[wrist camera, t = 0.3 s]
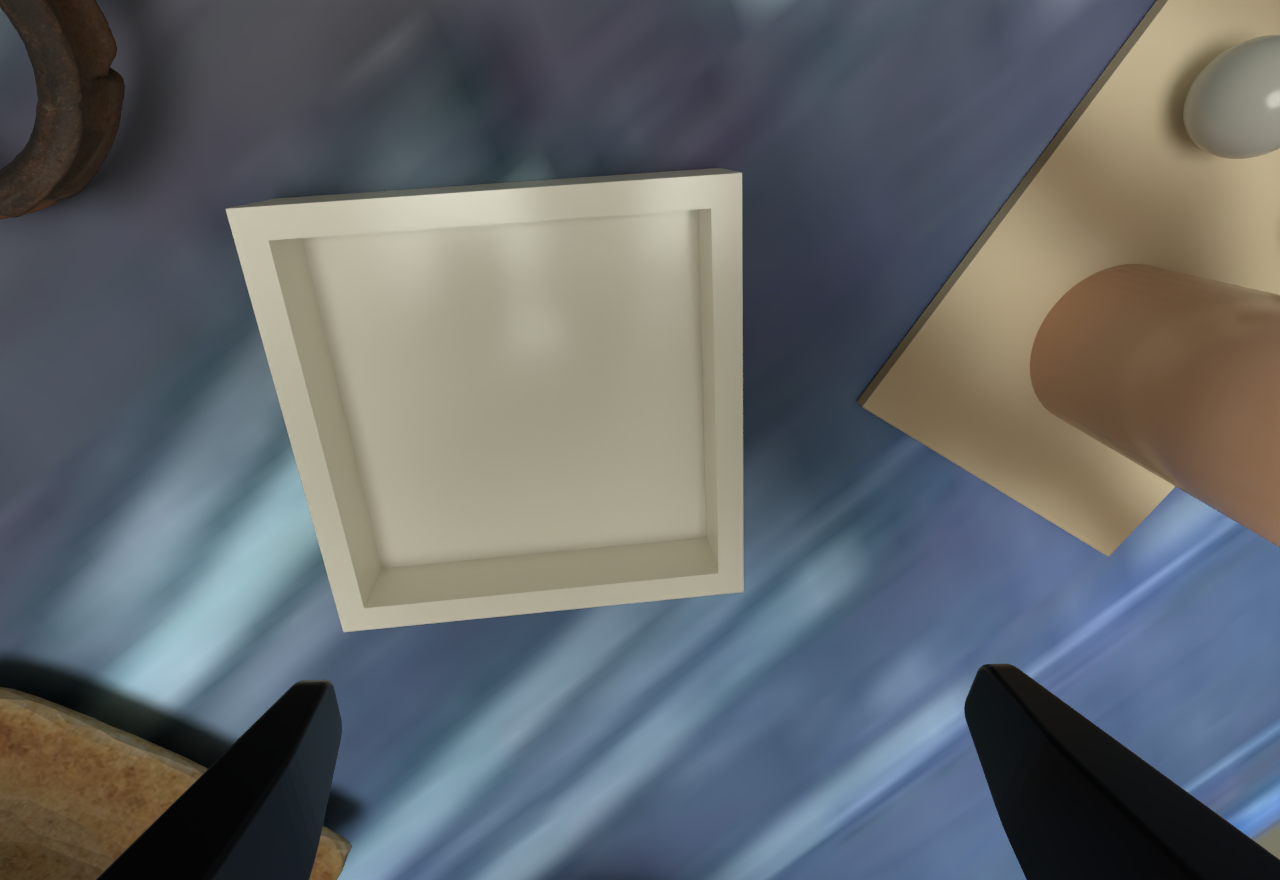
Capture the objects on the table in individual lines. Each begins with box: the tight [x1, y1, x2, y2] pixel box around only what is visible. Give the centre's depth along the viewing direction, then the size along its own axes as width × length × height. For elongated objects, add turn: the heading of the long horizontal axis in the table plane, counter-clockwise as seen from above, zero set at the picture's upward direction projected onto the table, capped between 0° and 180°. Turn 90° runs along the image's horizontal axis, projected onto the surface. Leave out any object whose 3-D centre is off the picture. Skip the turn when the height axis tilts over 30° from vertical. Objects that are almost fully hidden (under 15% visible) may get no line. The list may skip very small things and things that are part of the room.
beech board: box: [857, 0, 1280, 557], centre depth 23 cm, size 16×12×1 cm
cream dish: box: [226, 168, 744, 632], centre depth 21 cm, size 13×13×3 cm
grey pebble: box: [1183, 35, 1280, 159], centre depth 19 cm, size 3×3×3 cm
